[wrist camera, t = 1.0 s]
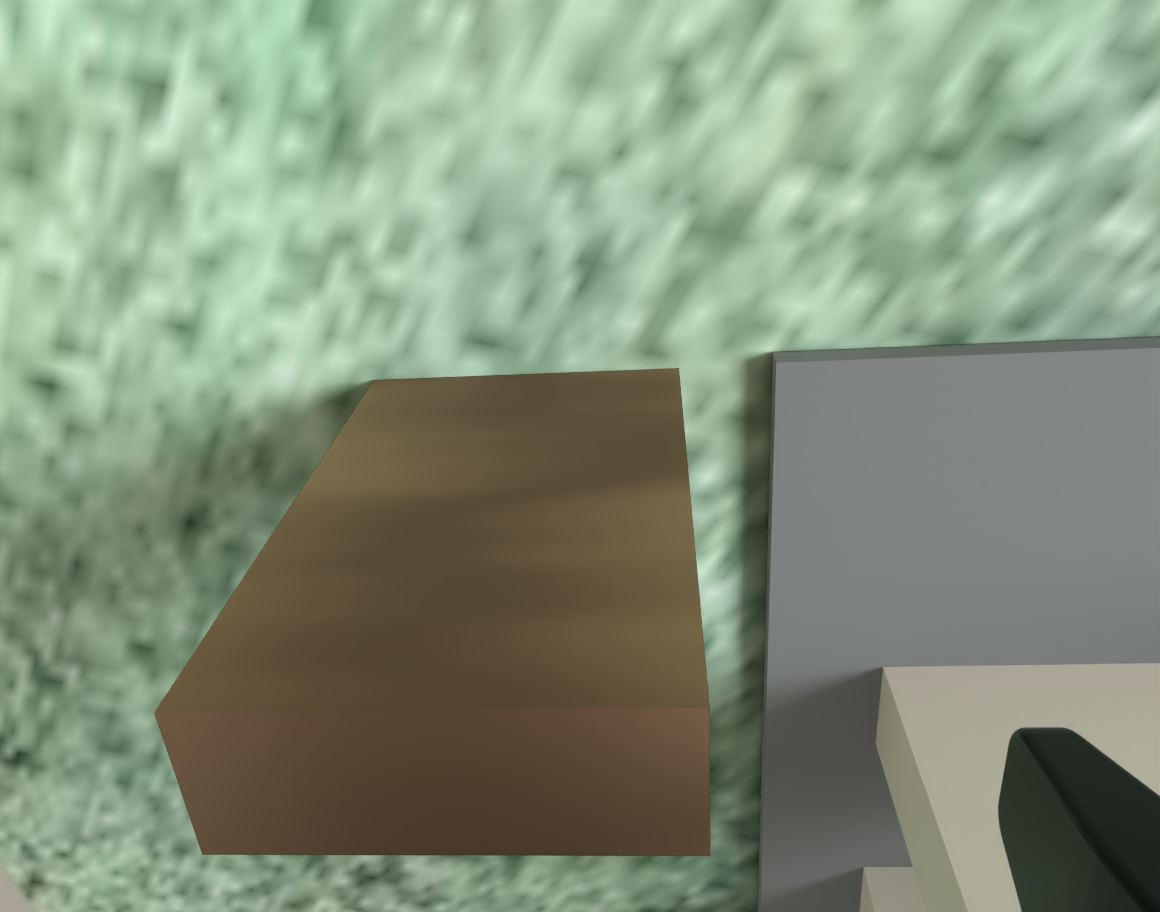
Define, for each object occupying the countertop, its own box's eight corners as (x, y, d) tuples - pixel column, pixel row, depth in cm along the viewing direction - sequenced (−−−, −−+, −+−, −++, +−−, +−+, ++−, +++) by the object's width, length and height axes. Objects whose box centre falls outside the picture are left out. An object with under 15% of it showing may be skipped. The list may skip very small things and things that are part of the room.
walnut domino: (679, 368, 14) (709, 706, 7) (680, 468, 14) (710, 855, 8) (373, 380, 14) (154, 712, 8) (390, 477, 15) (201, 854, 8)
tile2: (1174, 663, 15) (1565, 1168, 9) (1153, 742, 15) (1500, 1260, 9) (883, 666, 15) (1051, 1154, 9) (875, 744, 16) (1026, 1244, 10)
